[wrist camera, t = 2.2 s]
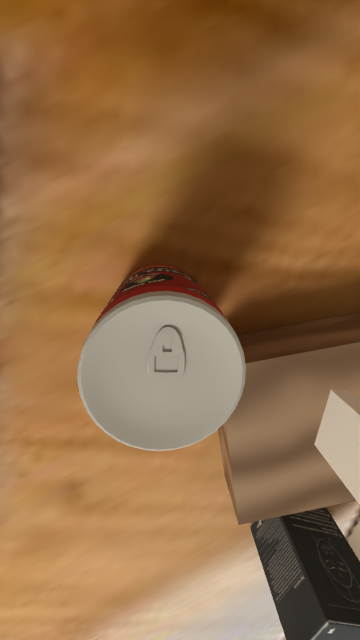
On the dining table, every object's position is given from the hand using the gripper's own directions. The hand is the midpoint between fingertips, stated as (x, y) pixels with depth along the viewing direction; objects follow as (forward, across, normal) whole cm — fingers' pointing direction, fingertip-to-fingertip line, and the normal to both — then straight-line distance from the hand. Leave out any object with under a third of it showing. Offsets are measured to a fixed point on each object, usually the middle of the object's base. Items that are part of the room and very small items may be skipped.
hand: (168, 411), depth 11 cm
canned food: (+13, 0, 0) cm, 13 cm away
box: (+13, +17, -24) cm, 32 cm away
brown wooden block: (+13, +14, -8) cm, 20 cm away
